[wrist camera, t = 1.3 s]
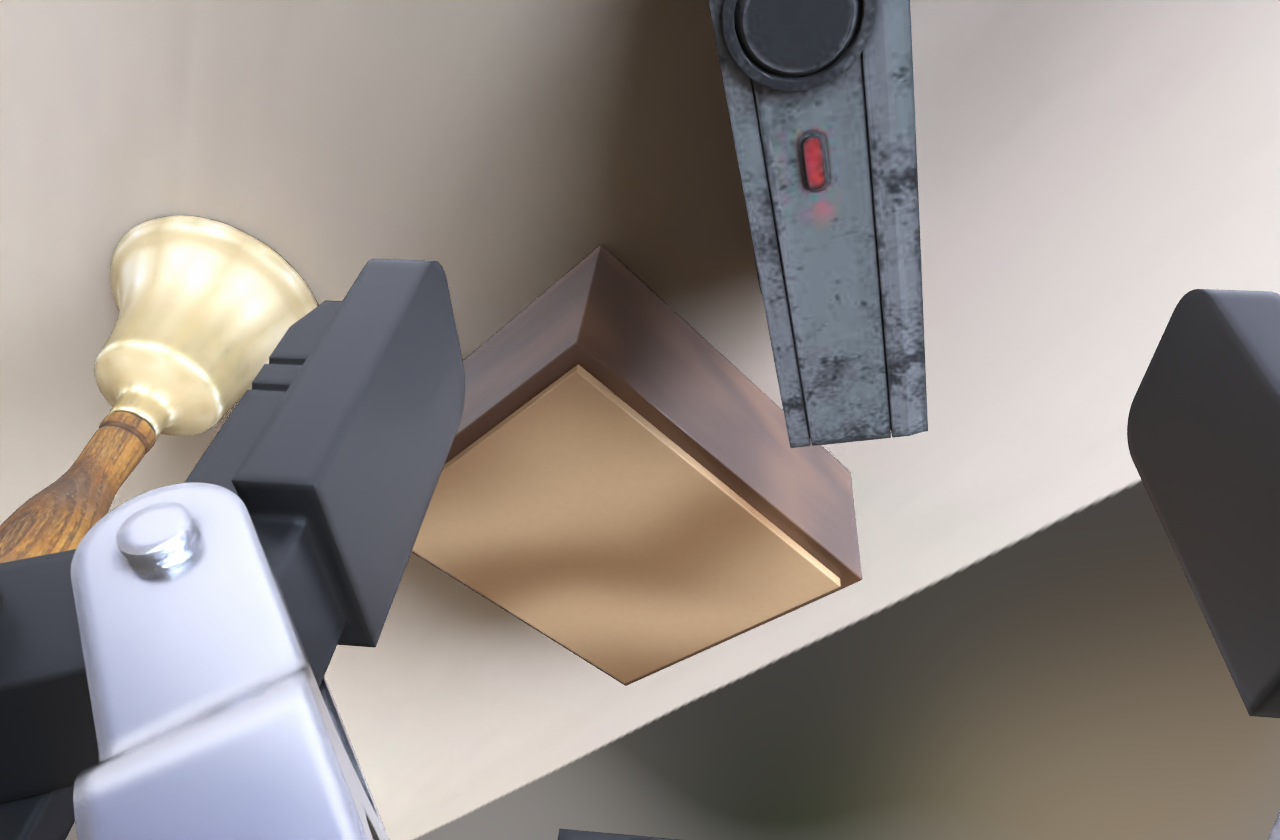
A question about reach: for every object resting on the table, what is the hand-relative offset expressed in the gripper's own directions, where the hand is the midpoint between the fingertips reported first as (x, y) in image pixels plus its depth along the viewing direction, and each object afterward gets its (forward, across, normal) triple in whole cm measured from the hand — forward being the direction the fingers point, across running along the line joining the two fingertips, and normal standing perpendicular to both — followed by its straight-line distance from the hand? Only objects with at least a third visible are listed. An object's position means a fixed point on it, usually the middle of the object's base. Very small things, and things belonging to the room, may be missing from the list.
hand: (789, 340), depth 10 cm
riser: (+20, +5, +20) cm, 28 cm away
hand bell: (+20, +21, +14) cm, 32 cm away
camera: (+19, -1, +2) cm, 20 cm away
